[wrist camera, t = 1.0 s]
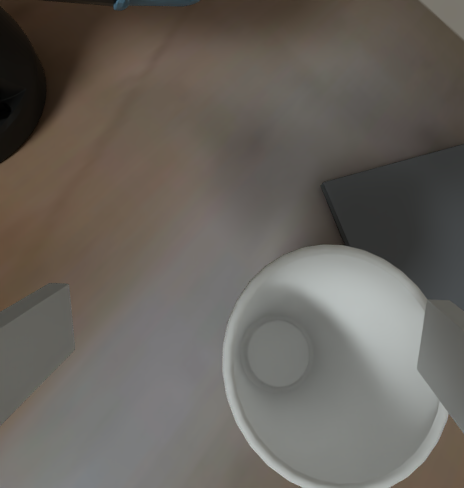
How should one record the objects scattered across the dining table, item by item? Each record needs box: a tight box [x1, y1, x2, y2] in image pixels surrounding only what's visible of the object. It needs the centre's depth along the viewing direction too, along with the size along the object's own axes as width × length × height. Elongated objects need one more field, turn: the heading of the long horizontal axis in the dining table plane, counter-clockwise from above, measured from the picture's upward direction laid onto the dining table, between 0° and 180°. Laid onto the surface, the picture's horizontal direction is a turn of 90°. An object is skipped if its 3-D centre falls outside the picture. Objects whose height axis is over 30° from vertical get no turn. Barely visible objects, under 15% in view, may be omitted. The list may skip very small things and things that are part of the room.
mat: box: [321, 144, 464, 311], centre depth 29 cm, size 16×14×1 cm
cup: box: [222, 244, 449, 488], centre depth 20 cm, size 10×10×11 cm
